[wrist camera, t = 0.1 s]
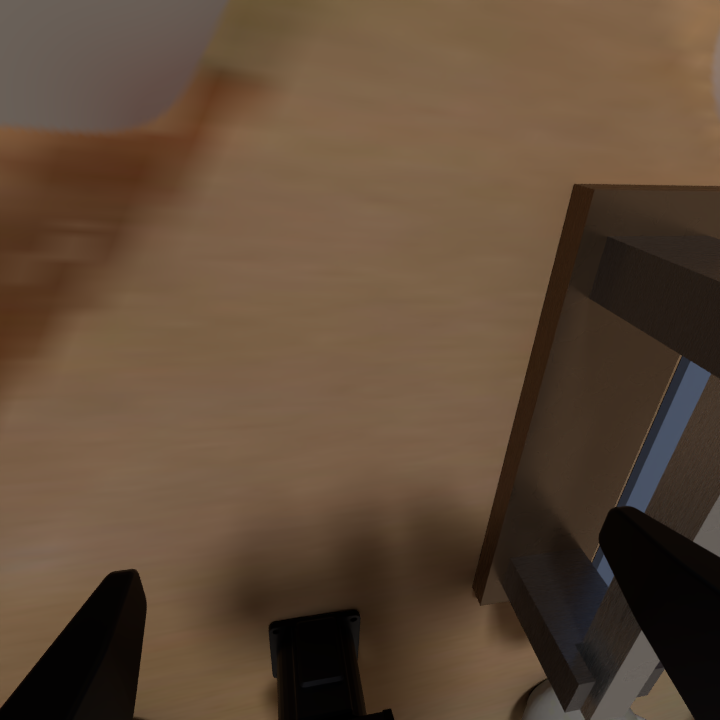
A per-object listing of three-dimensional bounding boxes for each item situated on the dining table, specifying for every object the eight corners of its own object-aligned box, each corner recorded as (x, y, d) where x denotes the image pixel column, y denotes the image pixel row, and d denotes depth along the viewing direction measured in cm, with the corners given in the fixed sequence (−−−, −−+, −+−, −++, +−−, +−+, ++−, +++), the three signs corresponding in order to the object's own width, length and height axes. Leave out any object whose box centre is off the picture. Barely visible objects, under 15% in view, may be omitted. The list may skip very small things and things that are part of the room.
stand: (567, 572, 37) (654, 708, 29) (472, 587, 35) (535, 734, 27) (721, 186, 23) (982, 237, 14) (574, 183, 21) (771, 239, 13)
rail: (598, 672, 29) (623, 716, 27) (564, 679, 29) (587, 724, 27) (826, 251, 16) (908, 274, 14) (769, 252, 16) (845, 276, 14)
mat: (684, 572, 40) (690, 578, 40) (581, 588, 38) (585, 595, 38) (894, 218, 25) (907, 220, 25) (742, 218, 24) (753, 220, 23)
